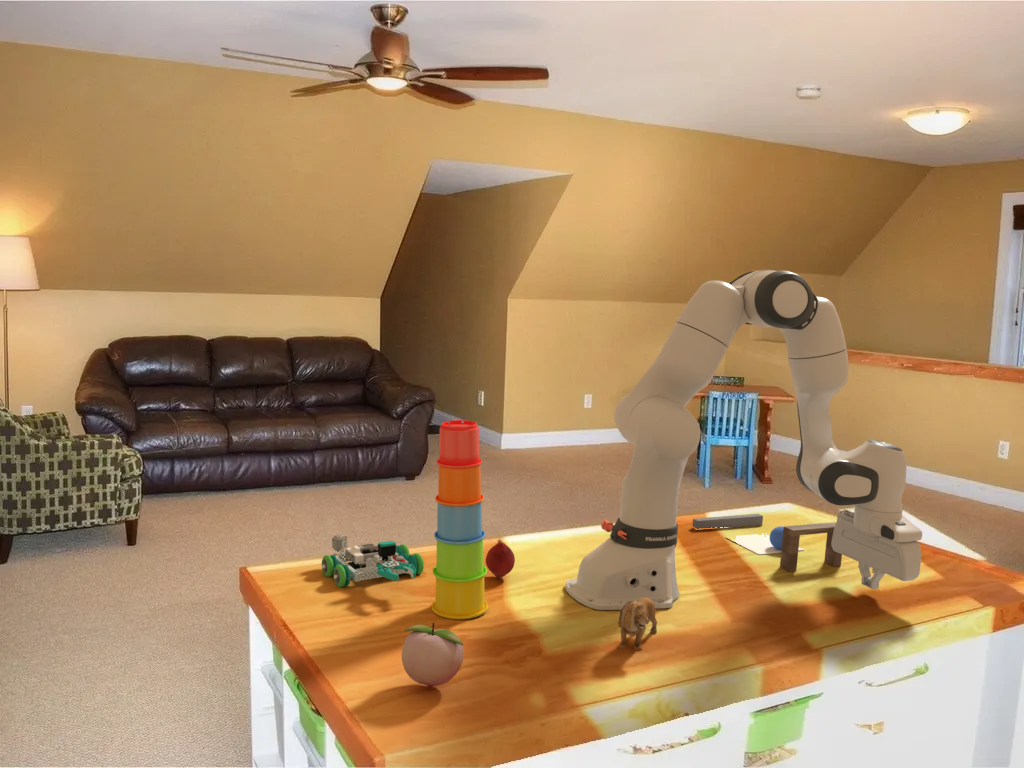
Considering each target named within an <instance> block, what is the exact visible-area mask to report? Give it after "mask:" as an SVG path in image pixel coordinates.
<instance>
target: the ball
mask: <svg viewBox="0 0 1024 768" xmlns="http://www.w3.org/2000/svg"><path fill="white" fill-rule="evenodd" d="M783 529H784V526H783V525H782V526H776V527H775V528H773V529H772V530H771V532H770V533H769V534H770V542H771V544H772V546H773V547H775V548H776V549H778V550H781V549H782V539H783Z"/></svg>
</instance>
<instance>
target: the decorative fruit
mask: <svg viewBox="0 0 1024 768" xmlns="http://www.w3.org/2000/svg"><path fill="white" fill-rule="evenodd" d="M431 625H432V626H431V627H430V626H427V625H424V624H415V625H412V626H409V627H407V628H406V629H405V630H404V631H403V632H409V631H410V633H409V634H408V635H407V636H406V638H405V640H404V642H403V645H402V648H401V649H402V650H401V662H402V666H403V668H404V670H405V673H406V674H407V675H408V677H409V678H410V679H411V680H413V681H414V682H416V683H418V684H420V685H425V686H427V687H428V688H434V687H438V686H441V685H444V684H447V683H448V682H450V681H451V680H452V679H453V678H454V677H455V676H456V675H457V674H458V672H459V671H460V669H461V667H462V664H463V662H464V647H463V646H464V644H463V641H462V639H461V638H460V637H459V636H458V635H457V633H455V632H454V631H451V630H448V629H444V628H443V629H442V628H441V629H440V628H439V629H435V626H436V624H435V622H432V624H431Z"/></svg>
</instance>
